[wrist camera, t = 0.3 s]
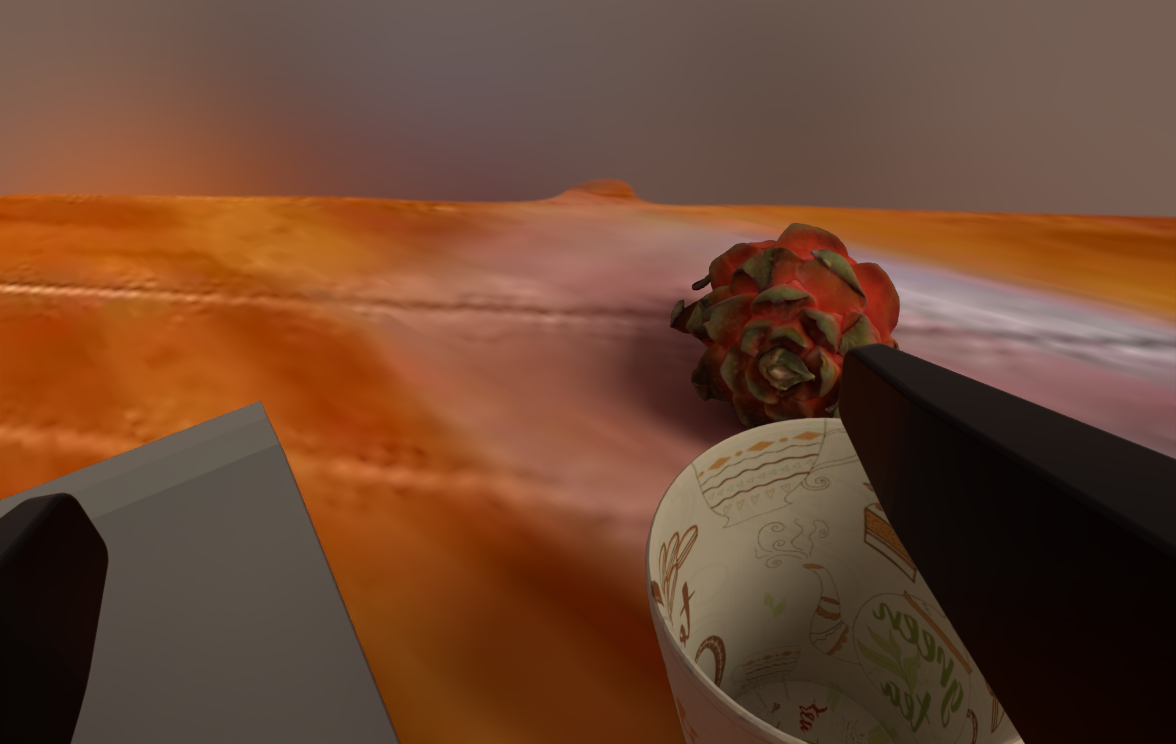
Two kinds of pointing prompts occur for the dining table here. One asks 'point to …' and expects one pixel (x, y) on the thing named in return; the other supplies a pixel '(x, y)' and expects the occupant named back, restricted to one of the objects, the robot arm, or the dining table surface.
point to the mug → (803, 605)
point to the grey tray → (216, 599)
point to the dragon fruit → (785, 324)
